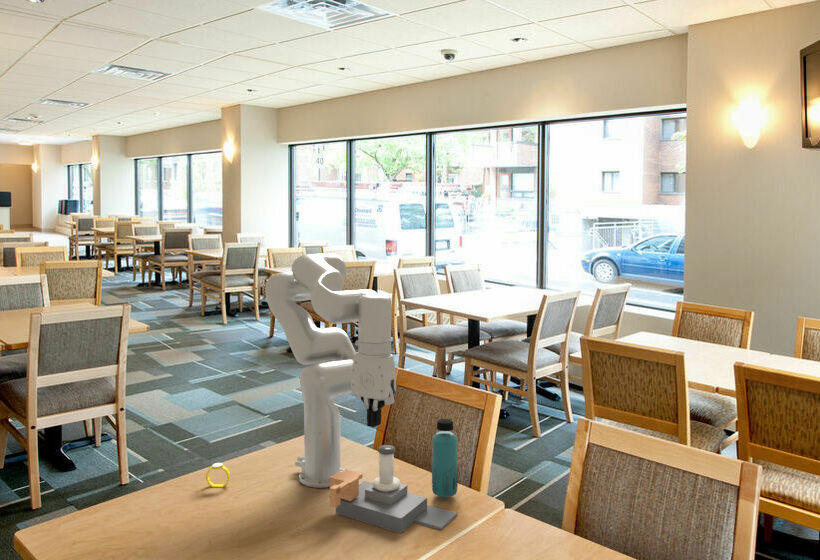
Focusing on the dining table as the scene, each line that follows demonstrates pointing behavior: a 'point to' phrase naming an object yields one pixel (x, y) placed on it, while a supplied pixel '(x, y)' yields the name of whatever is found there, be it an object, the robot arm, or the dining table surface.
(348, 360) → the robot arm
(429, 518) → the mat
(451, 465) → the beverage bottle
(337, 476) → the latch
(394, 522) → the grey base plate
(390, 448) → the plug
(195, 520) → the dining table surface
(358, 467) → the dining table surface
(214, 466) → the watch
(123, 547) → the dining table surface
